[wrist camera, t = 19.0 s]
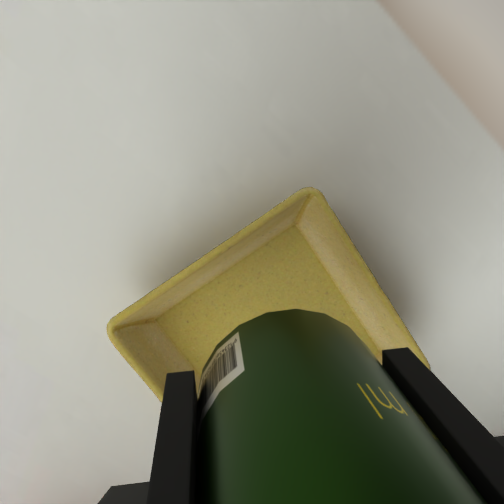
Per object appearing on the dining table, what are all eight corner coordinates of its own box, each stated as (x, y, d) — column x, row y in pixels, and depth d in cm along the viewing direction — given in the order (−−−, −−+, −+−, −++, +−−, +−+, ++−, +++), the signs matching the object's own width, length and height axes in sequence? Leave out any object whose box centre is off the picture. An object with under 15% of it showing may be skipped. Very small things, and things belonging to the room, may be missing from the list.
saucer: (108, 306, 18) (96, 328, 16) (302, 174, 17) (315, 180, 15) (238, 465, 20) (242, 502, 18) (414, 352, 20) (438, 377, 18)
